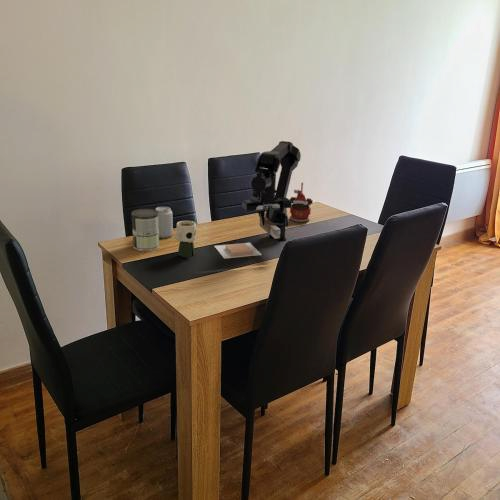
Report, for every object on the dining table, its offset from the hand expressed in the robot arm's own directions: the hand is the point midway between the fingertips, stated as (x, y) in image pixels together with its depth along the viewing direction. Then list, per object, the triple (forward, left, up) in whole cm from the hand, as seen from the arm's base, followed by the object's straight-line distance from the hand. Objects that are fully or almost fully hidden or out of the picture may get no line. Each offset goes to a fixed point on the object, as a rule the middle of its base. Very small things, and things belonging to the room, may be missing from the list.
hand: (266, 225), depth 199 cm
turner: (0, +4, -2) cm, 4 cm away
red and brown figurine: (-30, -32, -10) cm, 45 cm away
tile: (+12, -2, -8) cm, 15 cm away
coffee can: (+45, -14, -10) cm, 48 cm away
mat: (+12, +1, -10) cm, 16 cm away
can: (+36, -25, -10) cm, 45 cm away
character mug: (+32, 0, -10) cm, 34 cm away
